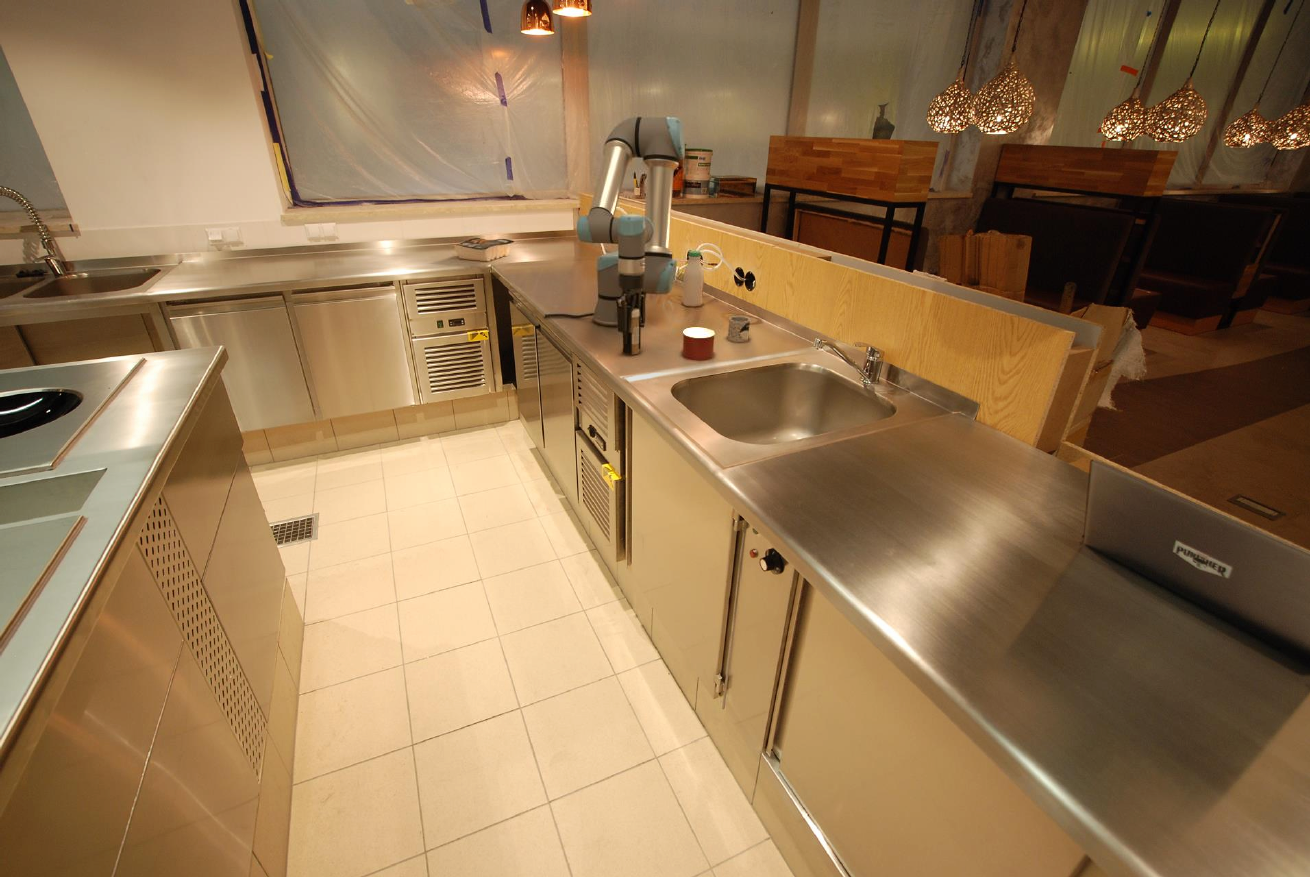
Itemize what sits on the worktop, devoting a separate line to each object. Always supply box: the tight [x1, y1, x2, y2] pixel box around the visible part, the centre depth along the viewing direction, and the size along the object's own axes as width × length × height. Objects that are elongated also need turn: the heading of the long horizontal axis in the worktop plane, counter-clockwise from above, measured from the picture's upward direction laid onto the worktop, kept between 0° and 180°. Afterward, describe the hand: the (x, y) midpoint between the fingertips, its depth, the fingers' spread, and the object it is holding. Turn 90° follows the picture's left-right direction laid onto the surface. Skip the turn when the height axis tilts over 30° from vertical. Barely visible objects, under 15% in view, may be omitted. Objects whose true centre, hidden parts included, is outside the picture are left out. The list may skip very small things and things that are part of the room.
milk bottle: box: [682, 250, 705, 307], centre depth 219 cm, size 8×8×20 cm
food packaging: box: [447, 237, 516, 262], centre depth 294 cm, size 25×8×23 cm
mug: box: [727, 315, 751, 343], centre depth 187 cm, size 10×7×7 cm, turn 148°
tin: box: [682, 327, 716, 361], centre depth 172 cm, size 9×9×7 cm
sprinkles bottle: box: [628, 308, 640, 356], centre depth 171 cm, size 5×5×13 cm
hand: (631, 350), depth 174 cm, fingers closed on sprinkles bottle, 4 cm apart
